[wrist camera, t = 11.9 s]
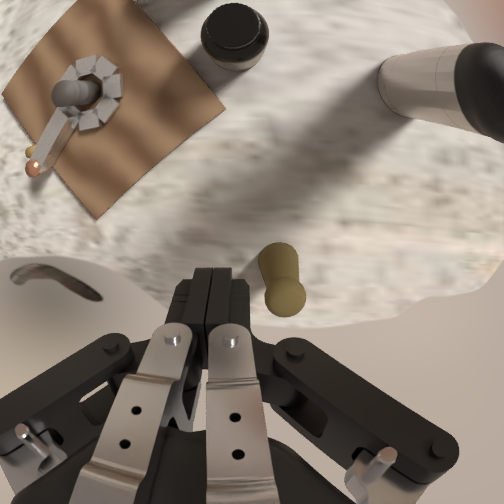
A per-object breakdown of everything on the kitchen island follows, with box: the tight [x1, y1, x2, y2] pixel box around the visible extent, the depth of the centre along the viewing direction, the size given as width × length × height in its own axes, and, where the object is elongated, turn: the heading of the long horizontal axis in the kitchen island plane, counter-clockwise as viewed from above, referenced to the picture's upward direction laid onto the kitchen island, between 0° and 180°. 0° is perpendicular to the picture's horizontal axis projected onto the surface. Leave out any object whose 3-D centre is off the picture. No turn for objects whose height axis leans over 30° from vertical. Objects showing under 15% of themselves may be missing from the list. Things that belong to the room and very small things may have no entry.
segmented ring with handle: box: [25, 55, 124, 178], centre depth 31 cm, size 18×10×4 cm, turn 136°
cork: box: [258, 242, 306, 317], centre depth 41 cm, size 6×6×11 cm
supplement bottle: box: [201, 3, 269, 71], centre depth 26 cm, size 7×7×12 cm
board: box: [2, 0, 226, 219], centre depth 29 cm, size 24×28×9 cm
